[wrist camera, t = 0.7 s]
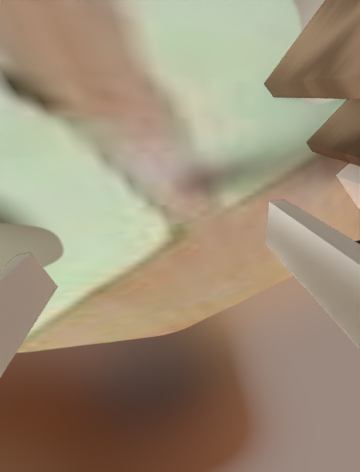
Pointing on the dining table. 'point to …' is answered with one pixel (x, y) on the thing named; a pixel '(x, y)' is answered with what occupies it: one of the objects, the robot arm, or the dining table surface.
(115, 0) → the dining table surface
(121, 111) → the dining table surface
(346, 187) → the pillar
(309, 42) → the tall wooden grooved block
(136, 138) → the dining table surface
